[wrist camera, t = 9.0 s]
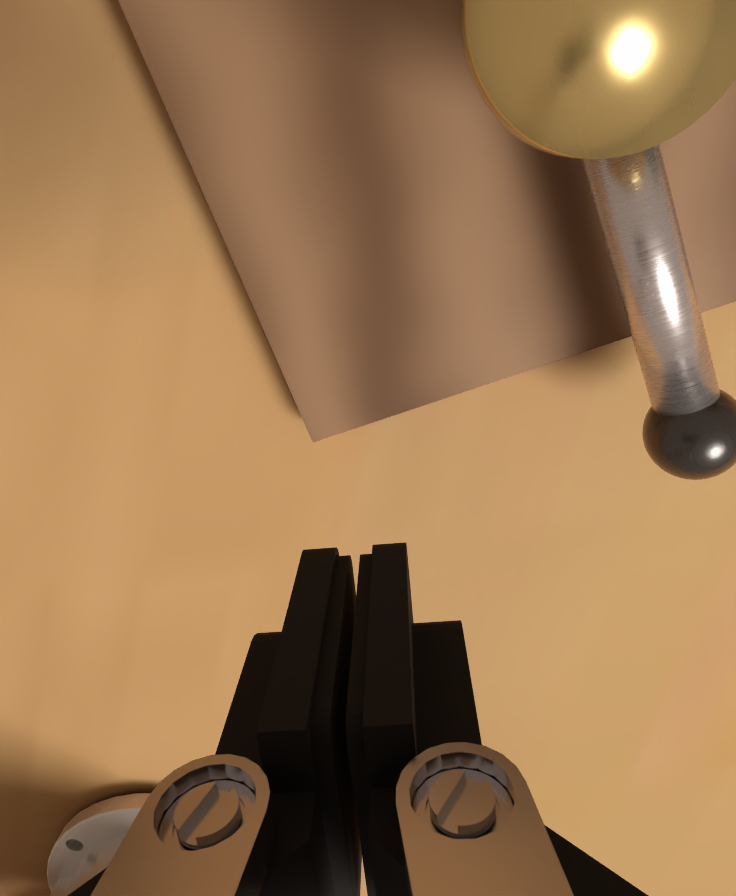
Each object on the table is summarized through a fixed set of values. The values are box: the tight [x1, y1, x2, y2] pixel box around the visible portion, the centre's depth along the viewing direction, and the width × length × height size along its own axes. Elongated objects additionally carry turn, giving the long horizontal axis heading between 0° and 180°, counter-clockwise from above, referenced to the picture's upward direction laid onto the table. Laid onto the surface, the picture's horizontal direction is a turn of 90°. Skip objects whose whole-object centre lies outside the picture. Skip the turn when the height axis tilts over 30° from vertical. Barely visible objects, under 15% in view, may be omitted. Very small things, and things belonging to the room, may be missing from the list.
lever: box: [462, 0, 736, 480], centre depth 17 cm, size 16×6×5 cm, turn 23°
